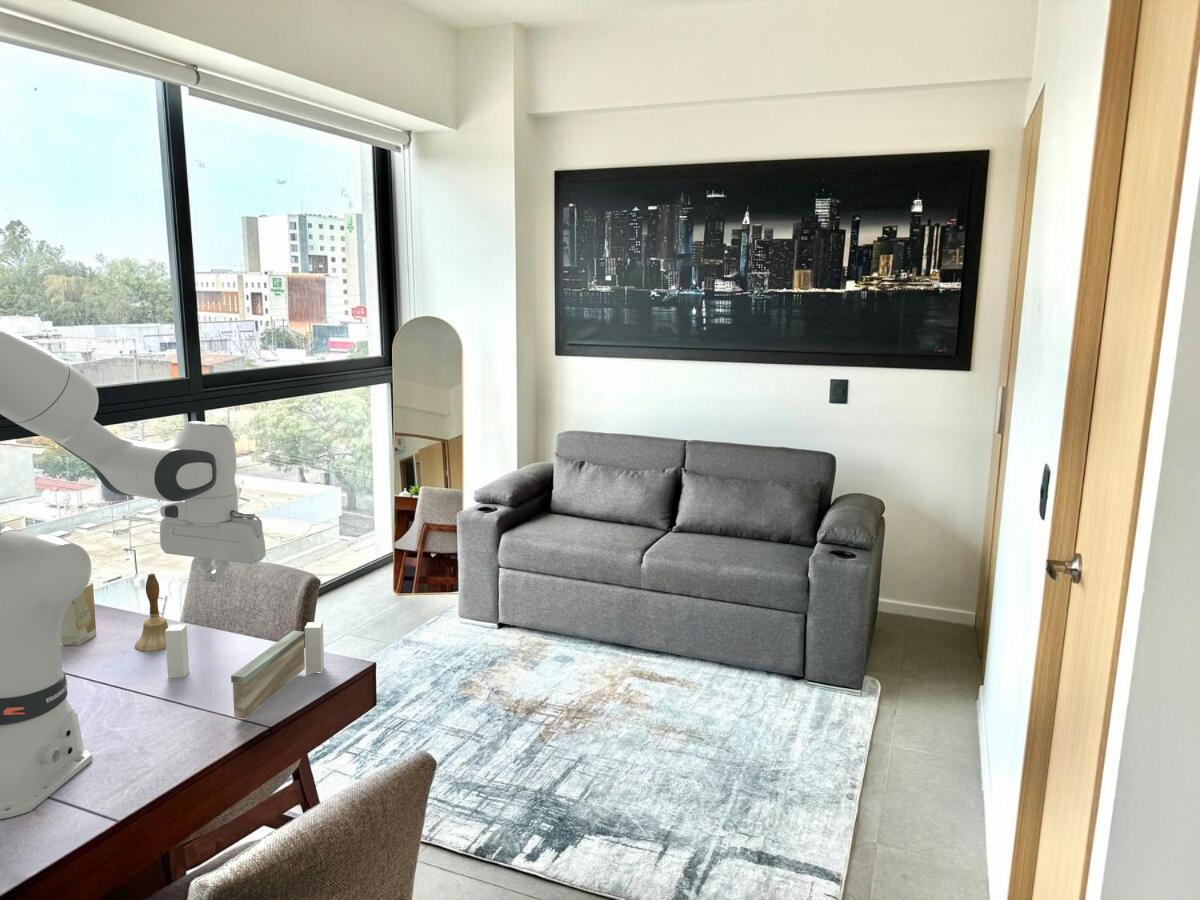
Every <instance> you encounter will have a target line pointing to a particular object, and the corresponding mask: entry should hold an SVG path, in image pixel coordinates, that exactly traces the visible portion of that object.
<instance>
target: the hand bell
mask: <svg viewBox="0 0 1200 900" xmlns="http://www.w3.org/2000/svg"><path fill="white" fill-rule="evenodd" d="M145 593H146V594H145V595H146V597H147V600H148V602H149V614H150V615H149V616H150V617H148V618H147V619H145V620H144V621H143V627H142V633H141V635H140V638H139V639H138V640H137V641H136V642H135V643H134V648H135V649H136V650H137V651H140V652H141V651H142V652H157V651H163V650H166V636H165V630H166V629H167V628H168V627H169V626H168V620H167V618H166V617H163V616H160V611H159V604H158V603H159V601H158V600H159V596H160V584H159V581H158V579H157V577H156V574H155V573H148V575H147V578H146V582H145Z"/></svg>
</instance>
